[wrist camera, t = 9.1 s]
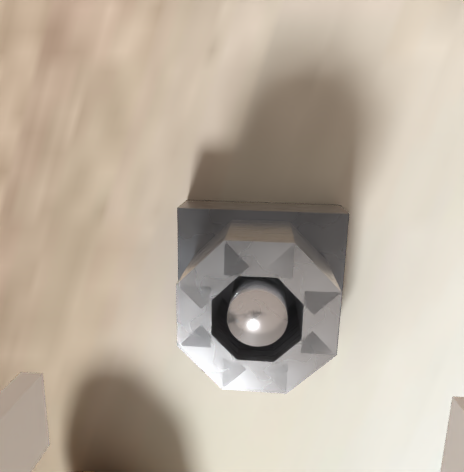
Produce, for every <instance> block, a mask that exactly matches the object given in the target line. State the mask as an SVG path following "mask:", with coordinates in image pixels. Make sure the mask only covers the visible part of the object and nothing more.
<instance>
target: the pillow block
mask: <svg viewBox="0 0 464 472" xmlns="http://www.w3.org/2000/svg"><path fill="white" fill-rule="evenodd" d="M177 218H178V281H179V279H180V278H181V276H182V274H183V273H184V271H185V269H186V268H187V266H188V264H189V263H190V261H191V260H192V258H193V256H194V255H195V254H196V253H197V252H198V251H199V250H200V249H202V248H203V247H204V246H205V245H206V244H207V243H208V242H209V241H210V240H211V239H212V238H213V237H214V236H215V235H217V234H218V233H219V232H220V231H221V230H222V229H223V228H224V227H225V226H226V225H227V224H228V223H229V222H231V221H232V220H233V219H241V220H270V221H290V222H291V223H292V224H293V225H294V226H295V227H296V229H297V230H298V231H299V232H300V233H301V234H302V235H303V236H304V237H305V238H306V239H307V240H308V241H309V242H310V243H311V244H312V246H313V247H314V248H315V249H316V250H317V251H318V252H319V253H320V254H321V255H322V256H323V257H324V258H325V259H326V260H327V262H328V264H329V266H330V268H331V270H332V272H333V275H334V277H335V279H336V281H337V283H338V285H339V288H340V290H341V292H342V290H343V278H344V267H345V256H346V244H347V233H348V222H349V213H348V212H347V211H346V210H345V209H344V208H343V207H342V206H341V205H323V204H292V203H262V202H231V201H200V200H186V201H185V202H184V203H183V204H182V205H180V206H179V207H178V208H177ZM222 298H223V299H224V300H225V301H226V302H227V303H228V304H229V308H228V312H227V323H228V327H229V329H230V331H231V333H232V334H233V335H234V336H235V338H237V339H238V340H239V341H241V342H242V343H244V344H247V345H250V346H256V347H260V346H266V345H269V344H272V343H274V342H275V341H277V340H278V339H279V338H280V337H281V336H282V335H283V333H284V332H285V330H286V327H287V323H288V315H287V307H288V306H289V305H290V304H292V303H293V302H294V301H295V295H294V294H293V293H292V292H291V291H290V290H289V289H288V288H287V287H286V286H285V285H284V284H283V283H282V282H281V281H280V280H279V279H278V278H272V277H250V276H238V277H237V278H236V279H235V280H234V281H233V282H231V283H230V284H229V285H228V286H227V287H226V288H225V289H224V290H222ZM341 301H342V296H341ZM340 312H341V307H340ZM339 324H340V319H339ZM338 335H339V330H338ZM337 346H338V342H337ZM336 355H337V353H336Z"/></svg>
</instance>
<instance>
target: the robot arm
mask: <svg viewBox="0 0 464 472" xmlns="http://www.w3.org/2000/svg"><path fill="white" fill-rule="evenodd" d="M49 445H50V442H49V432H48V422H47V411H46V401H45V391H44V380H43V373H28V372H20V373H19V374H18V375H17V376H16V377H15V378H14V379H13V380H12V381H11V382H10V383H9V384H8V385H7V386H6V387H5V388H4V389H3V390H2V391H1V392H0V472H31V471H32V470H33V469H34V467H35V466H36V464H37V463H38V461H39V460H40V458H41V457H42V455H43V454H44V452H45V451H46V449H47V448H48V447H49ZM441 472H464V397H452V403H451V410H450V416H449V422H448V428H447V434H446V440H445V446H444V452H443V459H442V465H441Z"/></svg>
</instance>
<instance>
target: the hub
mask: <svg viewBox="0 0 464 472" xmlns="http://www.w3.org/2000/svg"><path fill="white" fill-rule="evenodd" d="M238 276H250V277H272V278H278V279H279V280H280V281H281V282H282V283H283V284H284V285H285V286H286V287H287V288H288V289H289V290H290V291H291V292H292V293H293V294H294V295H295V301H294V302H293V303H292V304H290V305H289V306H288V307H287V315H288V323H287V327H286V330H285V332H284V333H283V335H282V336H281V337H280V338H279V339H278V340H277V341H275V342H274V343H272V344H269V345H266V346H260V347H256V346H250V345H247V344H244V343H242V342H241V341H239V340H238V339H237V338H235V336H234V335H233V334H232V333H231V331H230V329H229V327H228V323H227V312H228V308H229V304H228V303H227V302H226V301H225V300H224V299H223V298H222V290H224V289H225V288H226V287H227V286H228V285H229V284H230V283H231V282H233V281H234V280H235V279H236V278H237V277H238ZM341 296H342V292H341V290H340V288H339V285H338V283H337V281H336V279H335V277H334V275H333V272H332V270H331V268H330V266H329V264H328V262H327V260H326V259H325V258H324V257H323V256H322V255H321V254H320V253H319V252H318V251H317V250H316V249H315V248H314V247H313V246H312V244H311V243H310V242H309V241H308V240H307V239H306V238H305V237H304V236H303V235H302V234H301V233H300V232H299V231H298V230H297V229H296V227H295V226H294V225H293V224H292V223H291V222H290V221H270V220H241V219H233V220H232V221H231V222H229V223H228V224H227V225H226V226H225V227H224V228H223V229H222V230H221V231H220V232H219V233H218V234H217V235H215V236H214V237H213V238H212V239H211V240H210V241H209V242H208V243H207V244H206V245H205V246H204V247H203V248H202V249H200V250H199V251H198V252H197V253H196V254H195V255H194V256H193V258H192V260H191V261H190V263H189V264H188V266H187V268H186V269H185V271H184V273H183V274H182V276H181V278H180V279H179V281H178V283H177V284H176V302H177V346H178V347H179V348H180V349H181V350H182V351H183V352H184V353H185V354H186V355H187V356H188V357H189V358H190V359H191V360H192V361H193V362H194V363H195V364H197V365H198V366H199V367H200V368H201V369H202V370H203V371H204V372H205V373H206V374H207V375H208V376H209V377H210V378H211V379H212V380H213V381H214V382H215V383H216V384H217V385H218V386H219V387H220V388H221V389H225V390H240V391H255V392H270V393H285V394H286V393H288V392H289V391H290V390H292V389H293V388H294V387H296V386H297V385H298V384H300V383H301V382H302V381H303V380H305V379H306V378H307V377H309V376H310V375H311V374H313V373H314V372H315V371H316V370H318V369H319V368H320V367H322V366H323V365H324V364H326V363H327V362H328V361H329V360H331V359H332V358H333V357H335V356H336V353H337V342H338V330H339V319H340V307H341Z"/></svg>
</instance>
